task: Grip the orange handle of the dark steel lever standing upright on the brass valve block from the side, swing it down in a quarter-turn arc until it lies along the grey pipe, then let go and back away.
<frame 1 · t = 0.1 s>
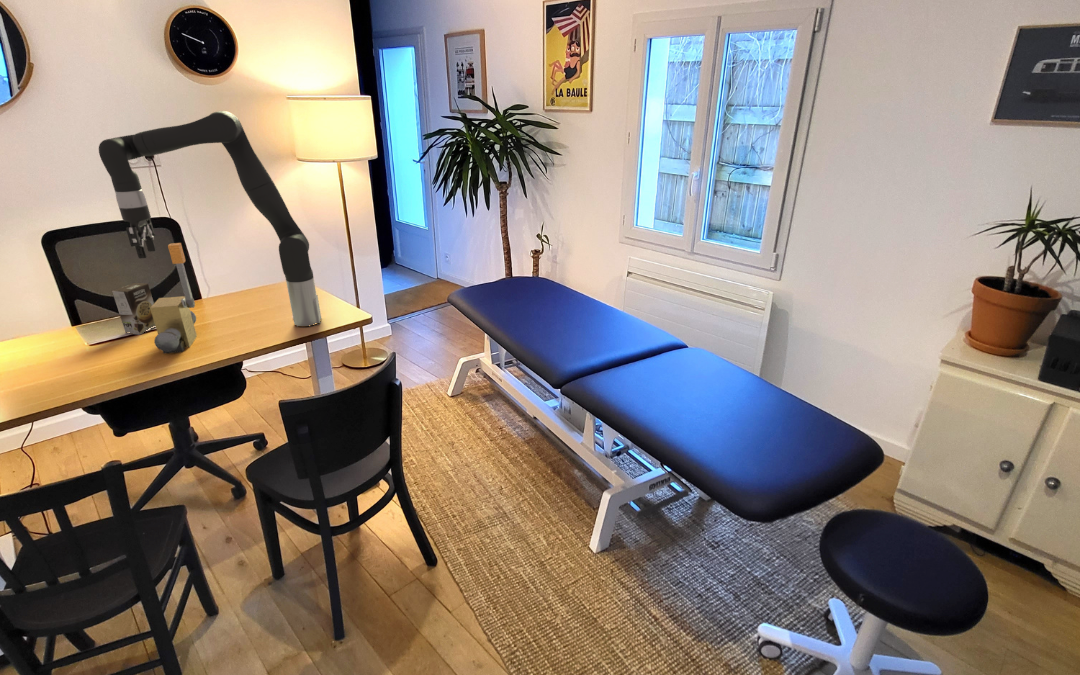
hand: (147, 254, 182), 29 cm above the table, tool pointing down, fingers open, 8 cm apart
coffee box: (143, 329, 199), on the table
lever: (183, 276, 180), point 23 cm above the table, hinge at 0.0°
valve block: (180, 342, 189), on the table
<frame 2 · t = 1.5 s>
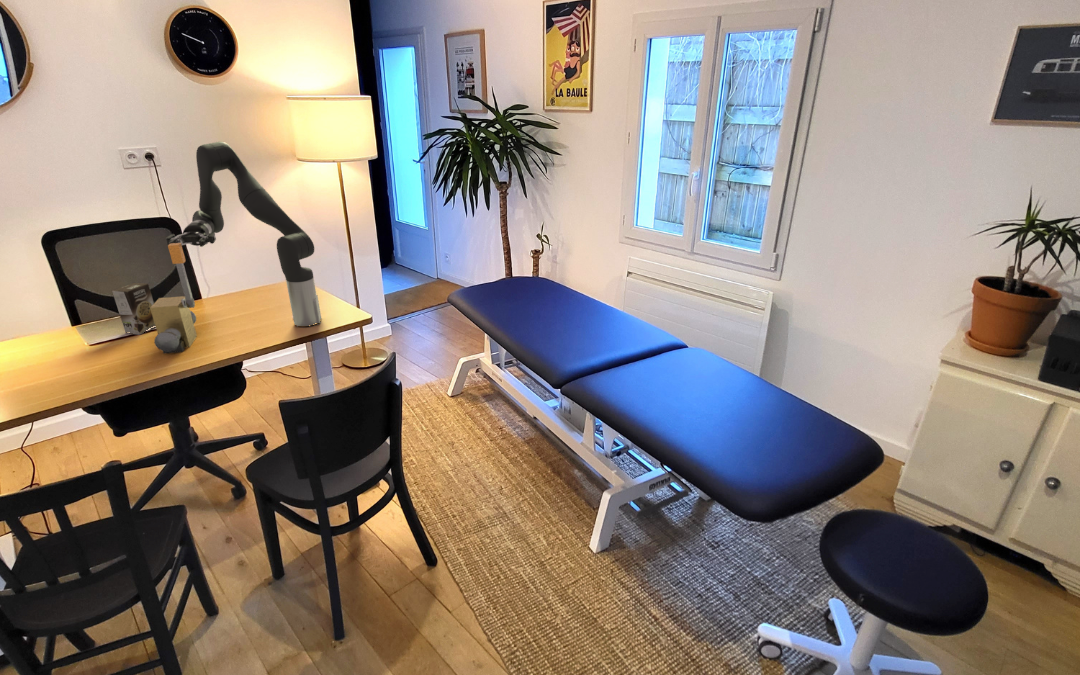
hand: (186, 244, 186), 31 cm above the table, tool horizontal, fingers open, 8 cm apart
nothing on the table moved.
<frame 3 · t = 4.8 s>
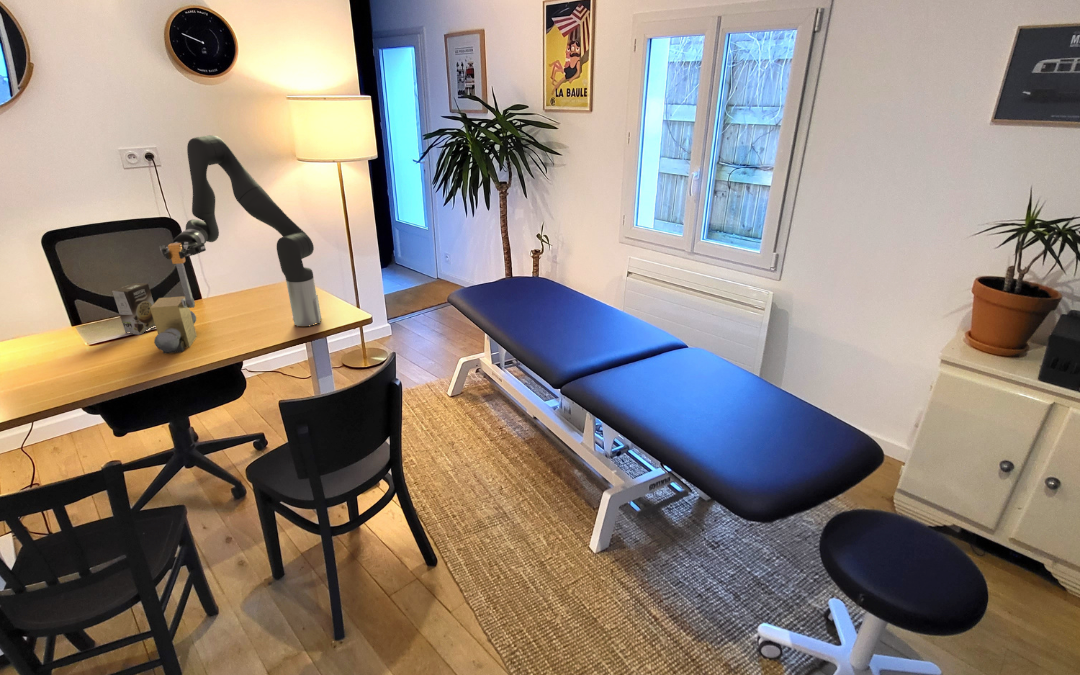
hand: (174, 255, 175), 31 cm above the table, tool horizontal, fingers closed on lever, 3 cm apart
lever: (183, 276, 180), point 23 cm above the table, hinge at 0.0°, touching gripper
everything else where it was.
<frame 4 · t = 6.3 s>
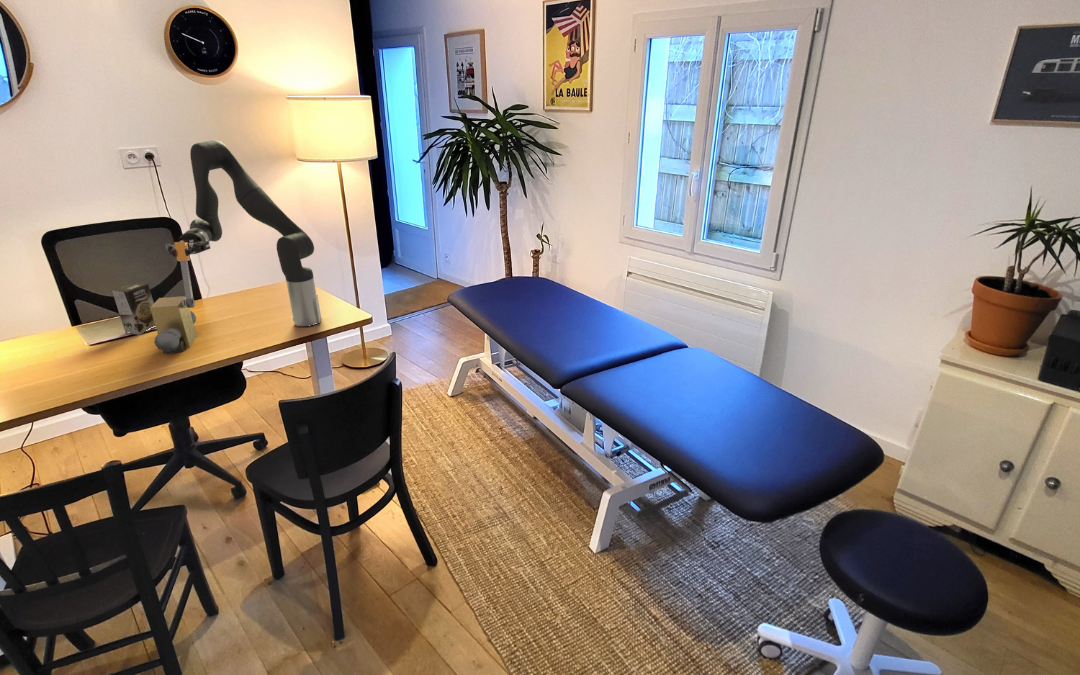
hand: (180, 253, 180), 30 cm above the table, tool horizontal, fingers closed on lever, 3 cm apart
lever: (186, 275, 183), point 23 cm above the table, hinge at 17.9°, touching gripper
everything else where it was.
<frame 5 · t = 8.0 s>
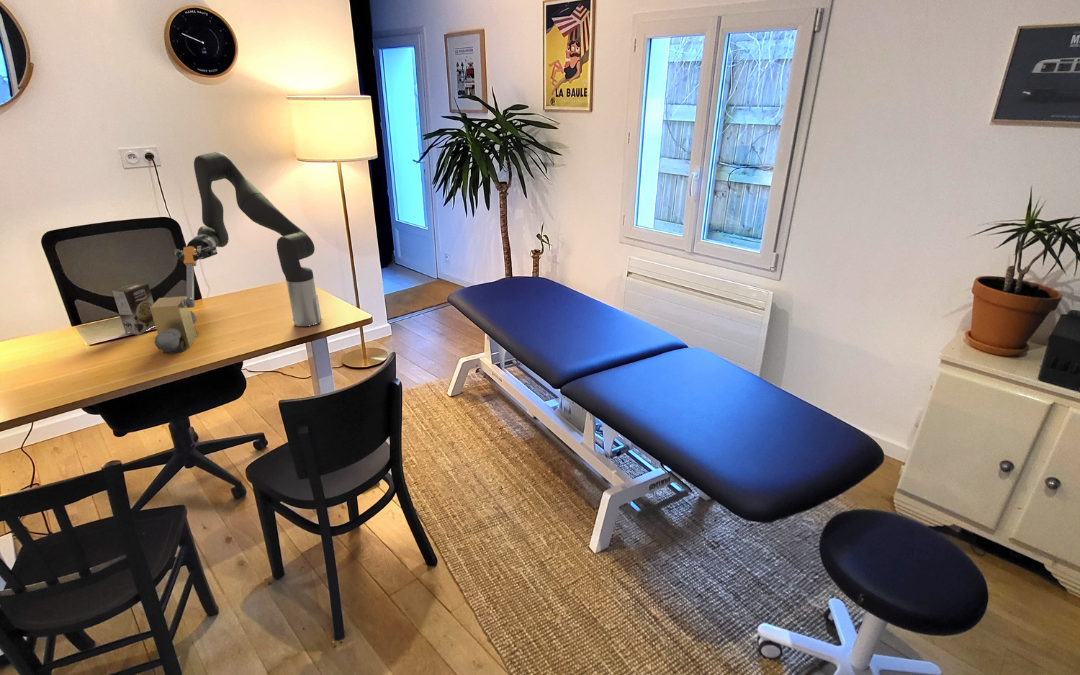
hand: (188, 258, 187), 27 cm above the table, tool horizontal, fingers closed on lever, 3 cm apart
lever: (190, 277, 187), point 21 cm above the table, hinge at 41.4°, touching gripper
everything else where it was.
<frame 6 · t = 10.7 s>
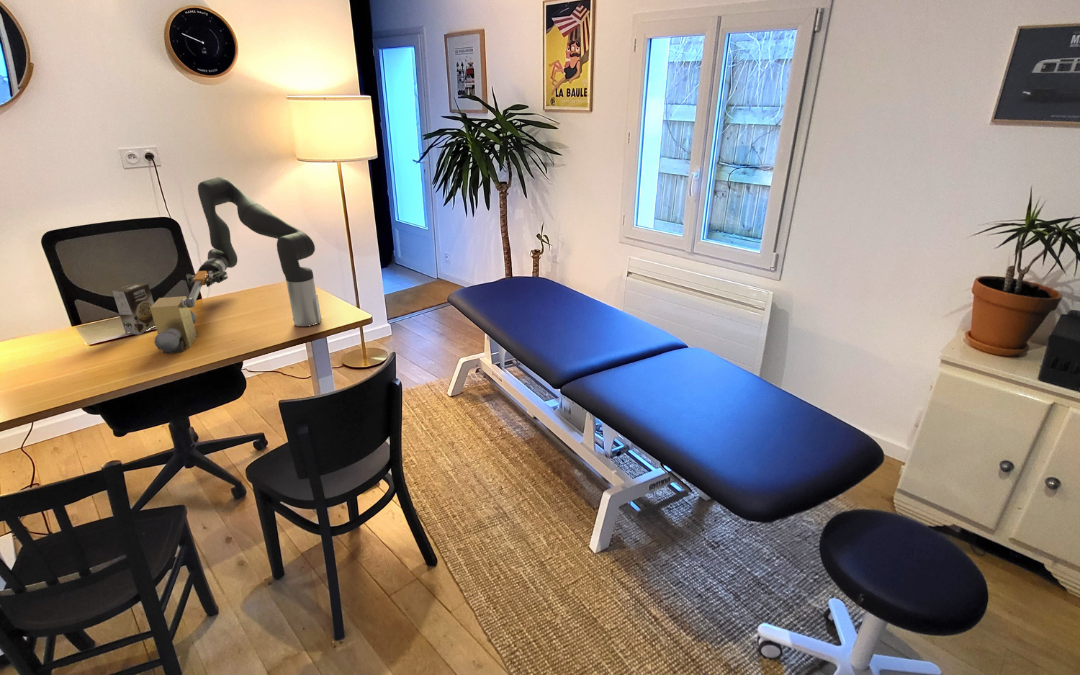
hand: (200, 284, 196), 16 cm above the table, tool horizontal, fingers open, 4 cm apart
lever: (196, 289, 191), point 16 cm above the table, hinge at 79.2°
everything else where it was.
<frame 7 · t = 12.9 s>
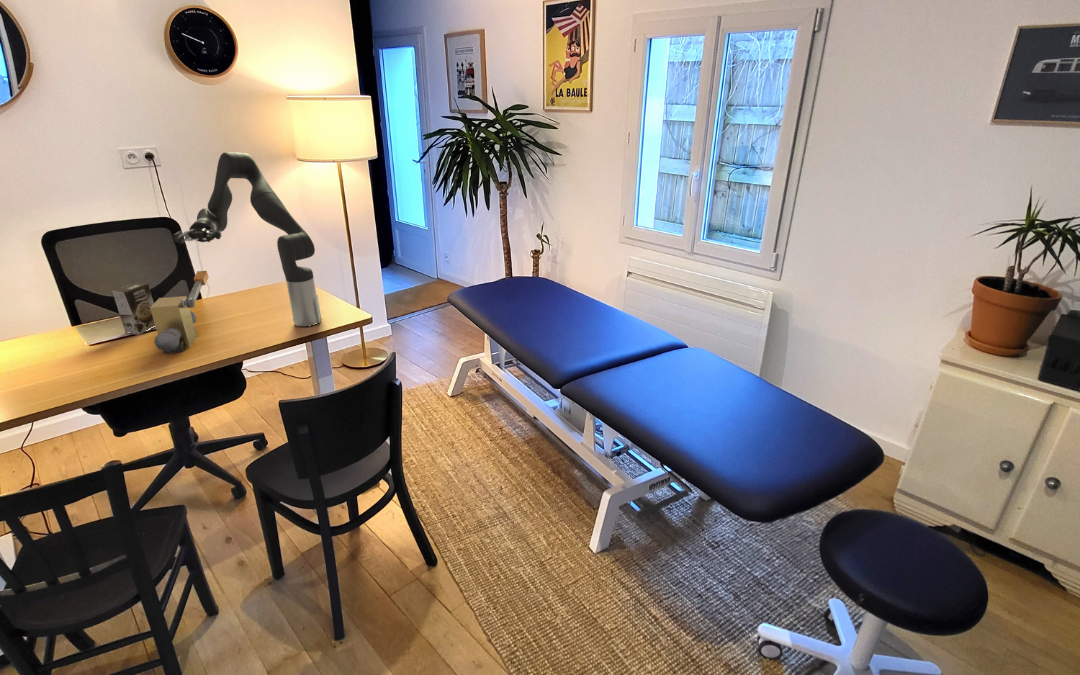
hand: (193, 240, 194), 31 cm above the table, tool horizontal, fingers open, 8 cm apart
nothing on the table moved.
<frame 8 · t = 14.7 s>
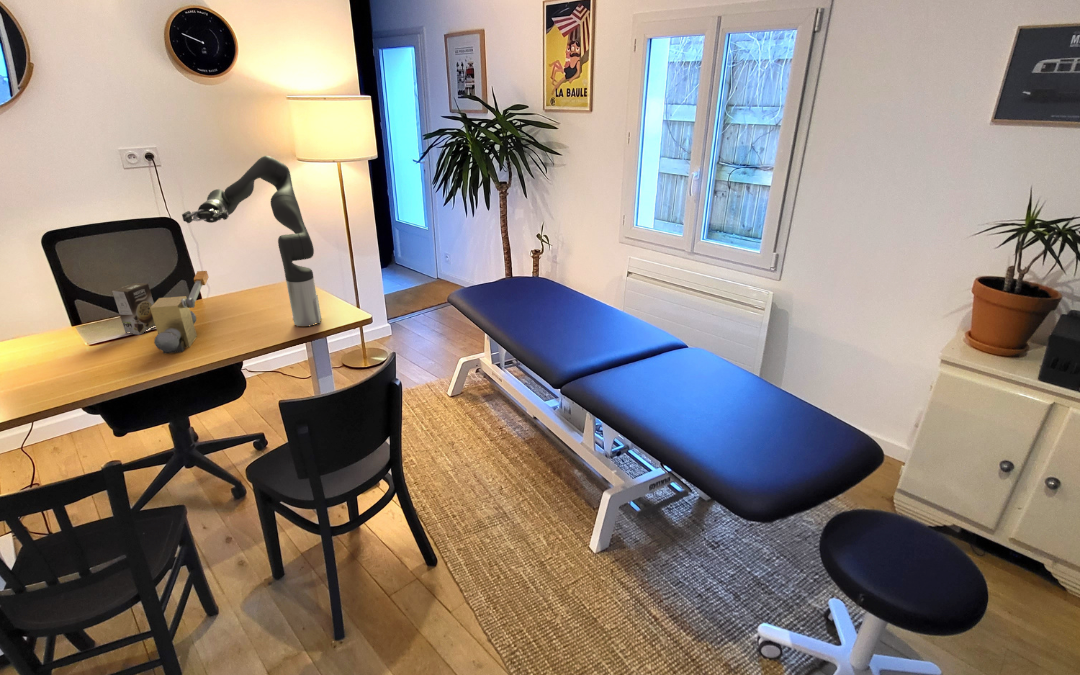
hand: (200, 219, 198), 36 cm above the table, tool horizontal, fingers open, 8 cm apart
nothing on the table moved.
at the end: lever at +79° (first picture: +0°); the gripper is holding nothing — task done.
